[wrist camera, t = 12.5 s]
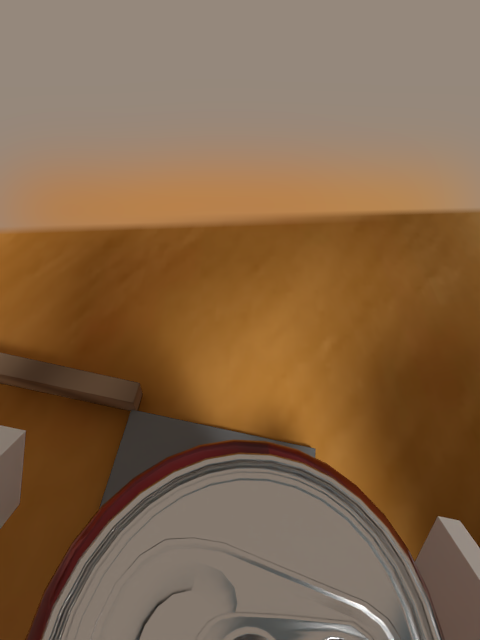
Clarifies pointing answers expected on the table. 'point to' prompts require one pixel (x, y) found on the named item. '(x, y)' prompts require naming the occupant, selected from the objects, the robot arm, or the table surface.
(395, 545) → the soda can
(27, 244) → the table surface
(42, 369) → the shelf lane
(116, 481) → the mat
